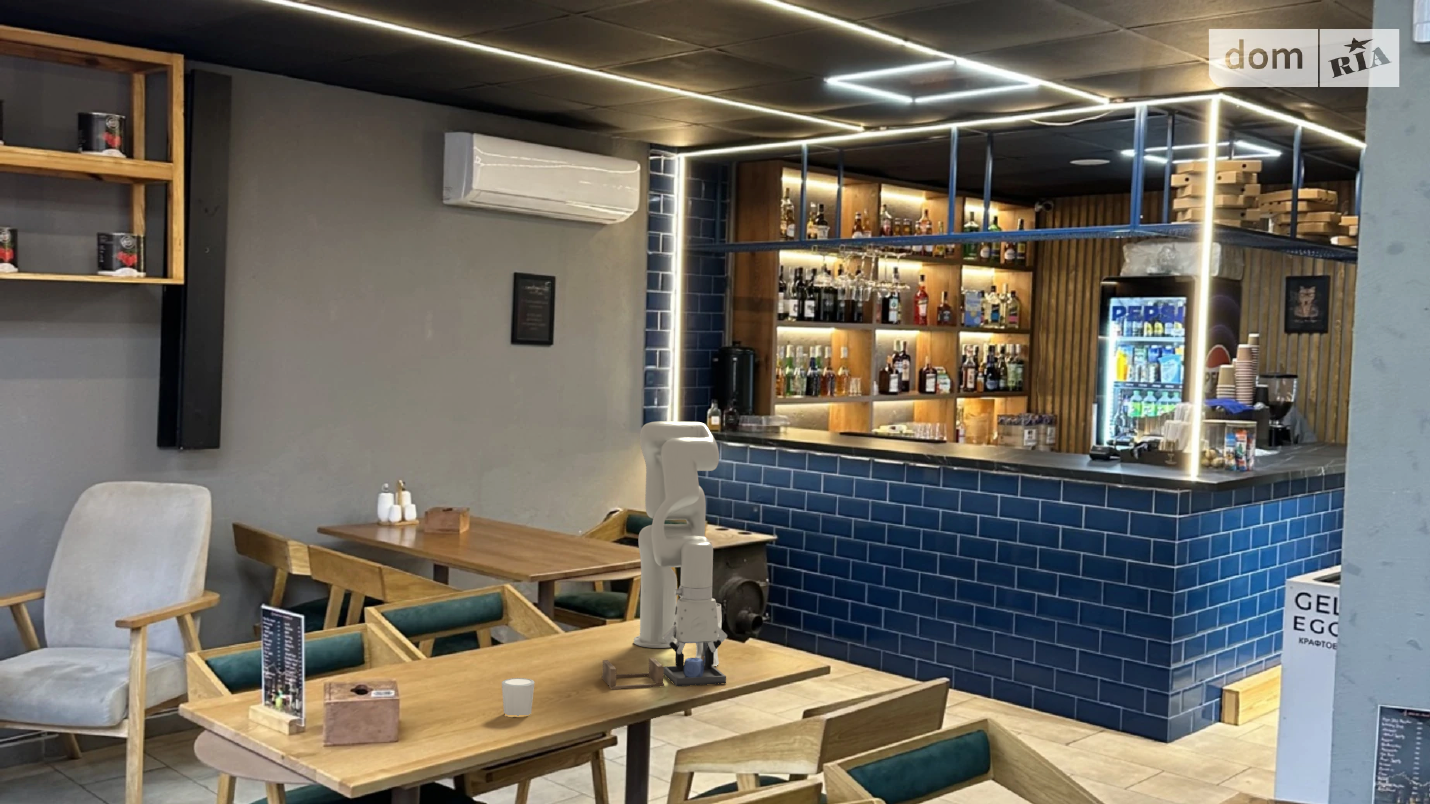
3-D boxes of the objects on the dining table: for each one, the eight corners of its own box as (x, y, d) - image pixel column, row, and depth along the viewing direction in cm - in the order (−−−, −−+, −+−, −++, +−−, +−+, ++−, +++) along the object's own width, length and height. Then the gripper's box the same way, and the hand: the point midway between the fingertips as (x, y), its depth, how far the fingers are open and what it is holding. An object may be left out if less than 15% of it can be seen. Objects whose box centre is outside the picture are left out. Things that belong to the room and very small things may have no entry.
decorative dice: (704, 675, 309) (704, 658, 308) (699, 678, 305) (699, 662, 305) (687, 673, 310) (688, 657, 310) (683, 677, 306) (683, 660, 306)
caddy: (601, 677, 306) (601, 659, 306) (652, 675, 310) (652, 656, 310) (611, 689, 296) (612, 670, 296) (664, 686, 299) (664, 667, 299)
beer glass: (721, 661, 325) (723, 602, 324) (719, 668, 318) (720, 607, 317) (694, 660, 325) (695, 601, 325) (690, 667, 319) (692, 606, 318)
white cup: (519, 720, 269) (520, 687, 269) (494, 715, 273) (494, 682, 272) (540, 713, 275) (541, 680, 275) (515, 708, 279) (516, 675, 278)
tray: (663, 674, 311) (663, 666, 311) (710, 671, 315) (711, 664, 315) (676, 686, 300) (676, 678, 300) (726, 683, 303) (726, 676, 303)
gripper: (664, 597, 300) (663, 674, 301) (735, 595, 305) (733, 670, 306) (656, 591, 307) (655, 666, 308) (726, 589, 313) (724, 663, 313)
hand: (694, 668), depth 307 cm, fingers open, 6 cm apart
